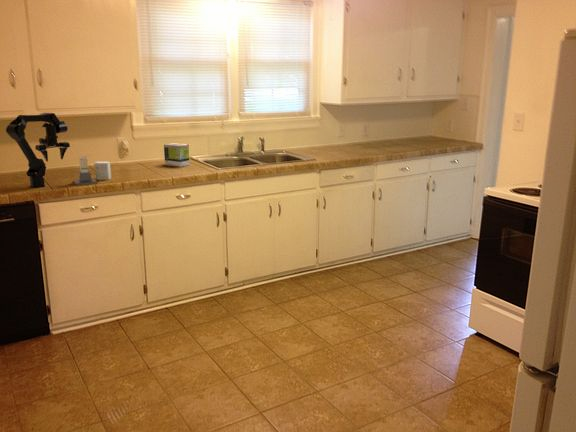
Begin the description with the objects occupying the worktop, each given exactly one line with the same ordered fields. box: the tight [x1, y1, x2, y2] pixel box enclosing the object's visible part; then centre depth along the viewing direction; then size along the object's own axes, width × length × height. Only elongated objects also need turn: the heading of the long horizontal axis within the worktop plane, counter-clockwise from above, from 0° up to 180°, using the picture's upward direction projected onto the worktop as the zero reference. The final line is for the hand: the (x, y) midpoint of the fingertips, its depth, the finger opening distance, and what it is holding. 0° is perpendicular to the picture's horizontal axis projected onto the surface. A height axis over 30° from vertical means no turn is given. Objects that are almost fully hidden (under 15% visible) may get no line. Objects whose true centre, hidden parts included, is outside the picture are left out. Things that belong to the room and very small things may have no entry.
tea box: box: [163, 142, 190, 168], centre depth 376 cm, size 15×10×15 cm, turn 58°
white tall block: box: [78, 156, 89, 173], centre depth 319 cm, size 4×4×10 cm
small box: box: [94, 161, 112, 181], centre depth 331 cm, size 8×6×10 cm
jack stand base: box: [73, 170, 98, 186], centre depth 321 cm, size 12×12×6 cm
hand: (54, 160), depth 320 cm, fingers open, 9 cm apart
